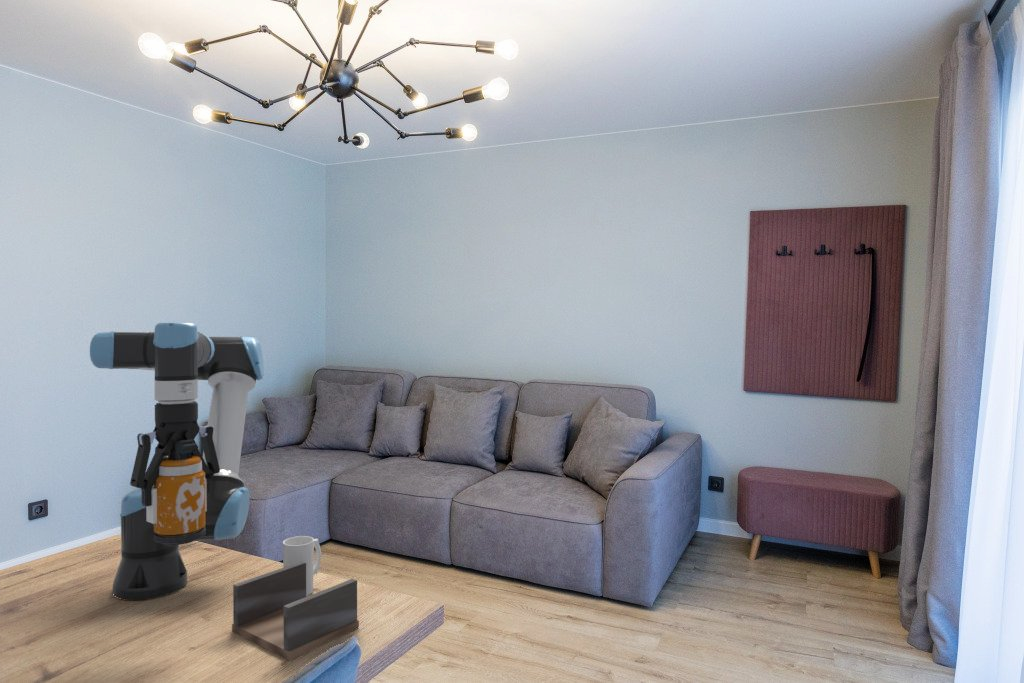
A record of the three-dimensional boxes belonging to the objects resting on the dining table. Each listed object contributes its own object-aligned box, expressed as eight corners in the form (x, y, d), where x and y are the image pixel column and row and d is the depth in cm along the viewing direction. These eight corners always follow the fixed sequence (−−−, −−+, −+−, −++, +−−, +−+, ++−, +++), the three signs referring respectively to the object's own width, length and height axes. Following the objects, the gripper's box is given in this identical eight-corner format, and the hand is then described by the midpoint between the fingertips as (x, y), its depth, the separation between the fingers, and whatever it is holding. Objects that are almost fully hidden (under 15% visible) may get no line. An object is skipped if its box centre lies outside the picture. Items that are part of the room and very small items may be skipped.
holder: (232, 631, 129) (231, 584, 128) (300, 603, 142) (300, 560, 141) (290, 660, 118) (290, 608, 117) (358, 627, 131) (358, 580, 130)
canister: (170, 550, 120) (170, 443, 120) (138, 540, 126) (137, 437, 126) (215, 537, 128) (214, 436, 127) (182, 528, 134) (182, 431, 133)
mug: (297, 601, 143) (297, 547, 143) (276, 595, 146) (276, 542, 146) (331, 586, 152) (331, 535, 151) (310, 580, 155) (310, 530, 155)
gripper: (126, 408, 116) (127, 533, 116) (238, 398, 133) (239, 507, 133) (107, 405, 120) (108, 526, 120) (219, 395, 137) (219, 501, 138)
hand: (177, 516), depth 127 cm, fingers closed on canister, 9 cm apart
